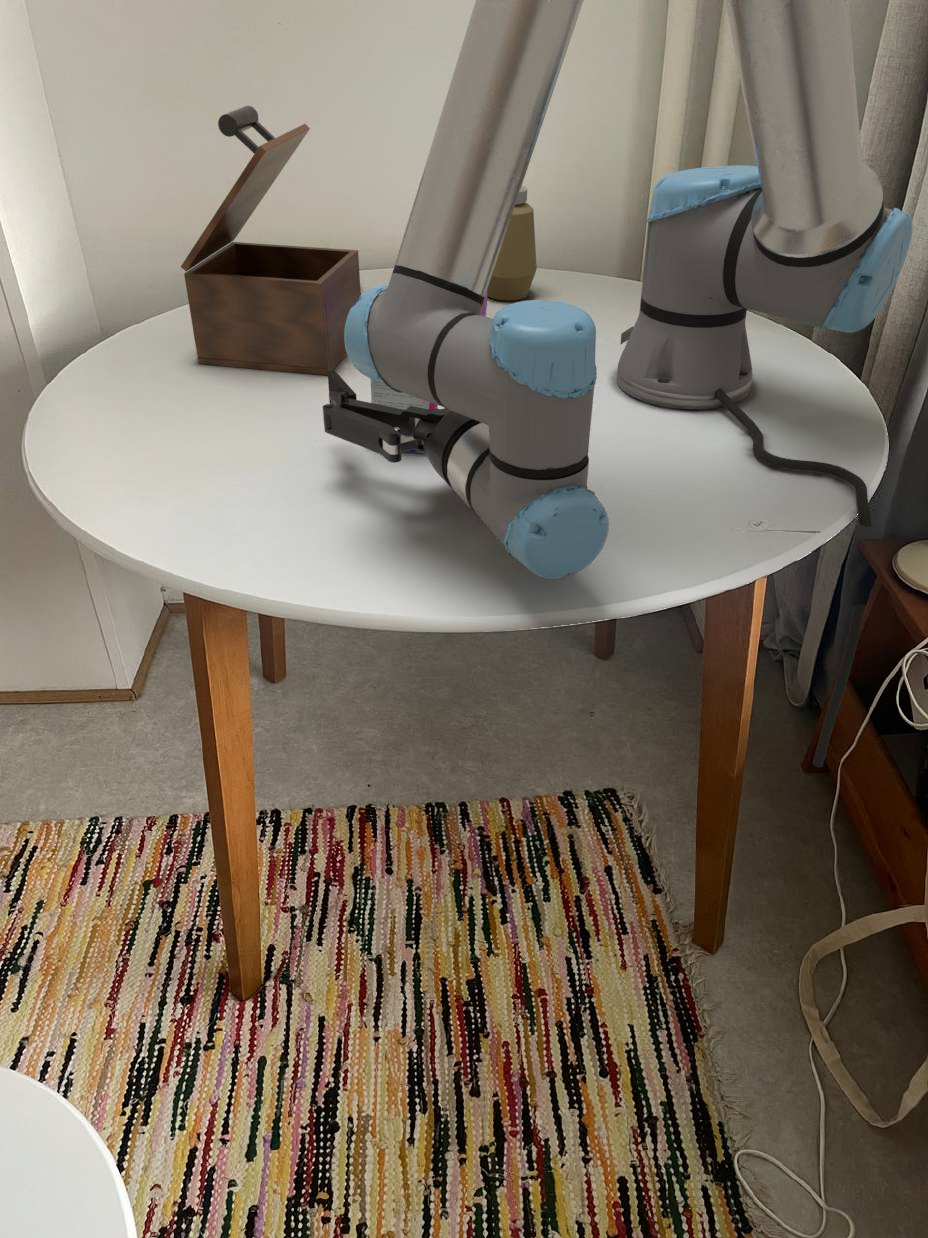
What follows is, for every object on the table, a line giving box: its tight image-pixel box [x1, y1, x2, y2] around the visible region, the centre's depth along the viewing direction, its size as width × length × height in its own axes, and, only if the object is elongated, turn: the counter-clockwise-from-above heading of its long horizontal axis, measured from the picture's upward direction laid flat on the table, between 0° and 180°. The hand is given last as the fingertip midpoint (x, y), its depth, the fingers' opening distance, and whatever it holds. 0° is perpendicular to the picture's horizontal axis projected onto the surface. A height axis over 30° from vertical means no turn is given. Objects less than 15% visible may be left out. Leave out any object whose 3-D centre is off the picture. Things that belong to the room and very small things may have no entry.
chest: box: [183, 241, 362, 376], centre depth 121 cm, size 17×14×11 cm
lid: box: [180, 105, 311, 272], centre depth 114 cm, size 17×14×6 cm
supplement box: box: [370, 378, 439, 454], centre depth 100 cm, size 6×6×12 cm
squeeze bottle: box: [487, 185, 538, 301], centre depth 137 cm, size 8×8×18 cm
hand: (395, 372), depth 102 cm, fingers open, 13 cm apart
